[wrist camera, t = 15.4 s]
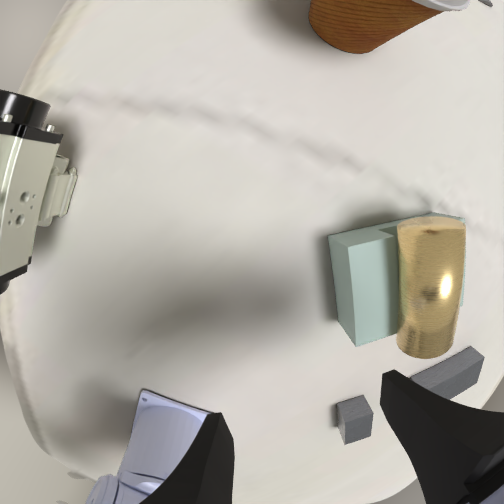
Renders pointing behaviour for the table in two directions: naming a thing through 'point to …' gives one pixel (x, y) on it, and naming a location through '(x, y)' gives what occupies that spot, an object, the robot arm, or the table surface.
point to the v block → (369, 279)
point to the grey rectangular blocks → (434, 379)
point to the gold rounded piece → (429, 284)
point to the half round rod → (487, 2)
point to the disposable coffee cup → (372, 20)
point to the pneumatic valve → (28, 180)
